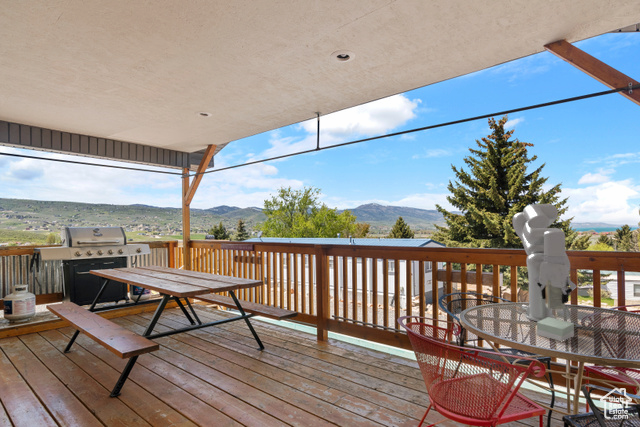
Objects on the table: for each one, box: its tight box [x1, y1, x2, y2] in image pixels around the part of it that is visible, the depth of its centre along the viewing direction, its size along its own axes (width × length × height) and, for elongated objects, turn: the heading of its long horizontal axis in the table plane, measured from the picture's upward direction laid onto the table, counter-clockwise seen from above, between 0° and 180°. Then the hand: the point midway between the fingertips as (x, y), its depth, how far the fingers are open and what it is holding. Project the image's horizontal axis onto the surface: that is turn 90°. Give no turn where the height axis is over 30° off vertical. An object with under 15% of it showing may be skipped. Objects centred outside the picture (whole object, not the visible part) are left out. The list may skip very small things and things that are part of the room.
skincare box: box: [545, 280, 566, 310], centre depth 152 cm, size 6×4×12 cm
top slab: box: [536, 317, 575, 337], centre depth 153 cm, size 10×10×3 cm
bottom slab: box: [535, 328, 575, 342], centre depth 153 cm, size 10×10×3 cm
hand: (554, 300), depth 152 cm, fingers closed on skincare box, 7 cm apart
